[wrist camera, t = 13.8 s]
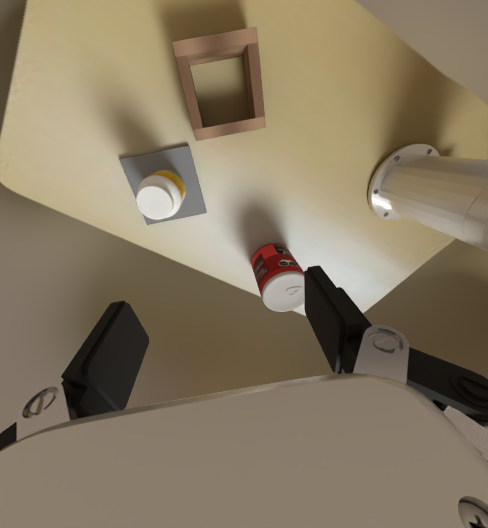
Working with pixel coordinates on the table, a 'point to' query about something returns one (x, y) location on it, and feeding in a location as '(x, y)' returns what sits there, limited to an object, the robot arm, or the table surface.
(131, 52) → the table surface
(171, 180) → the supplement bottle
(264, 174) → the table surface
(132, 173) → the rubber mat
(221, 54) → the sleeve holder
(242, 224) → the table surface
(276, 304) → the canned food
